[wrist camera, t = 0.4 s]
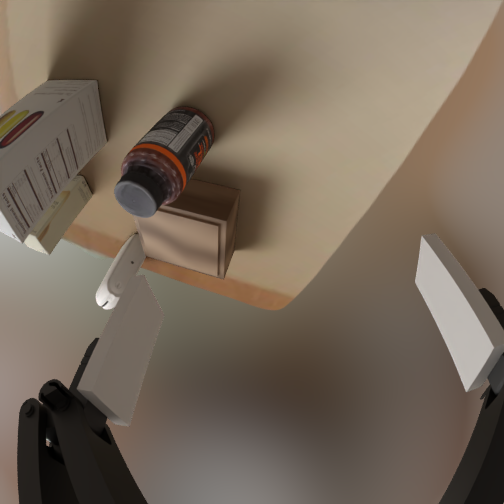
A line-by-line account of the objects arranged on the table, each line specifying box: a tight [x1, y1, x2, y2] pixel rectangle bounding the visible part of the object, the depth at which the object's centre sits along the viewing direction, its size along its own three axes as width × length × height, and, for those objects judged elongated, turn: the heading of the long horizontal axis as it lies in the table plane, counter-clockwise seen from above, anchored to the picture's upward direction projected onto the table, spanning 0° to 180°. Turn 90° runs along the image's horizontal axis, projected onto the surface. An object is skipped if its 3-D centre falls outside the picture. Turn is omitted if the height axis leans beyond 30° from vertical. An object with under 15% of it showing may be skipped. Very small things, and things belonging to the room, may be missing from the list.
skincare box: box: [24, 175, 92, 255], centre depth 37 cm, size 6×4×12 cm
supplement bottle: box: [114, 107, 214, 218], centre depth 25 cm, size 6×6×11 cm
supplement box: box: [0, 80, 107, 243], centre depth 24 cm, size 10×9×17 cm
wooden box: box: [133, 179, 240, 279], centre depth 38 cm, size 12×12×5 cm
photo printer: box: [96, 234, 146, 309], centre depth 47 cm, size 10×4×12 cm, turn 140°
